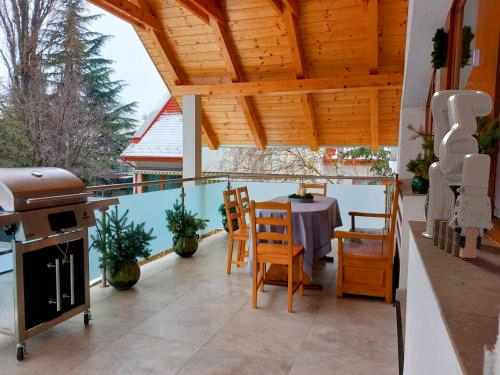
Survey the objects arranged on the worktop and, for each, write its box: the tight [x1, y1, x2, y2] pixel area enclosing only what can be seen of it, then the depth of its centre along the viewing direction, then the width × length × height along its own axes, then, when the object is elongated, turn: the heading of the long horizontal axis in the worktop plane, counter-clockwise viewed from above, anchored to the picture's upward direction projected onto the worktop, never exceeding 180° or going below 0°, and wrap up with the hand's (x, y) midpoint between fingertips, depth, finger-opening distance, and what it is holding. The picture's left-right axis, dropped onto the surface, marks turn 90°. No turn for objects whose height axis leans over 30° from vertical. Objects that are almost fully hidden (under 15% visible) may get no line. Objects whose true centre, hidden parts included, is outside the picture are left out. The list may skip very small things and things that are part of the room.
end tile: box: [458, 228, 479, 259], centre depth 124 cm, size 2×5×10 cm, turn 89°
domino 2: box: [437, 221, 450, 250], centre depth 139 cm, size 2×5×10 cm, turn 89°
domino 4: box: [451, 226, 460, 257], centre depth 129 cm, size 2×5×10 cm, turn 89°
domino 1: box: [431, 219, 448, 246], centre depth 144 cm, size 2×5×10 cm, turn 89°
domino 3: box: [444, 224, 458, 253], centre depth 134 cm, size 2×5×10 cm, turn 89°
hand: (468, 246), depth 124 cm, fingers closed on end tile, 4 cm apart
